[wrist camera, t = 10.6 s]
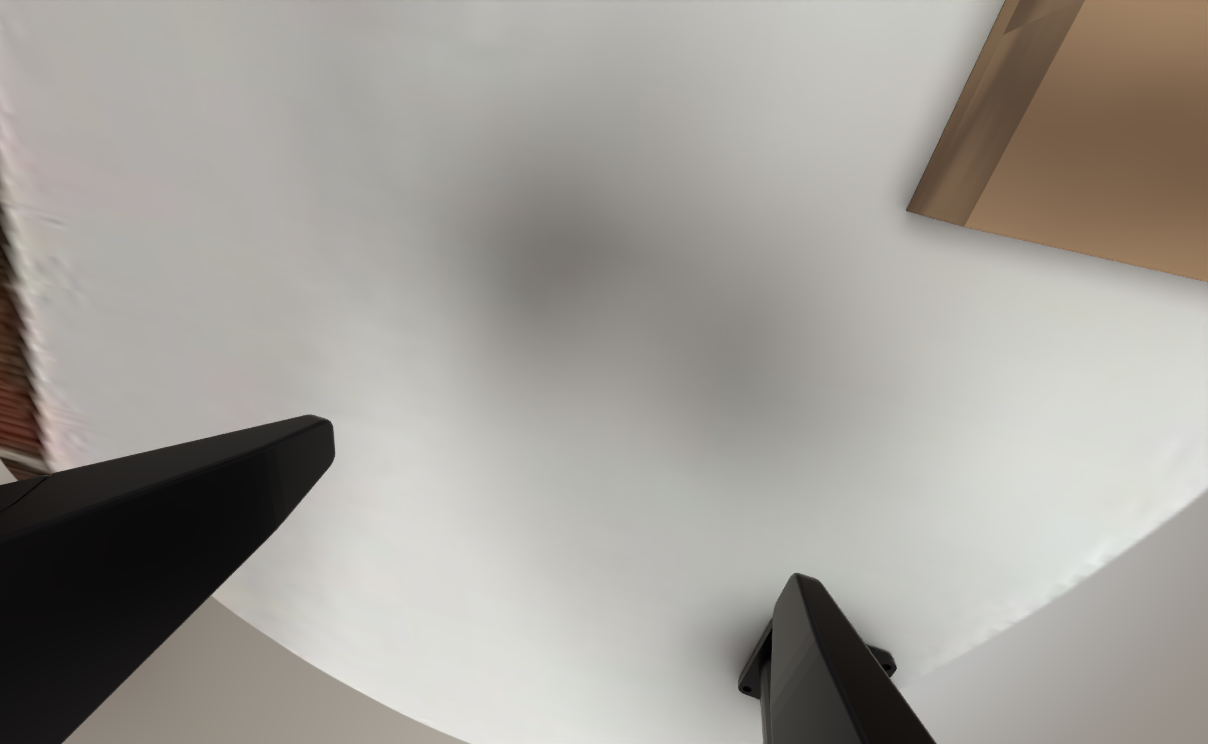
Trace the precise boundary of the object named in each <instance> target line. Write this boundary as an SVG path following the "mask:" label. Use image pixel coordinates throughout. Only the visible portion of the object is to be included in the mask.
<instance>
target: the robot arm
mask: <svg viewBox="0 0 1208 744" xmlns="http://www.w3.org/2000/svg"><path fill="white" fill-rule="evenodd" d="M334 458H335V443H334V431H333V425H332V423H331V421H329V420H328V419H325V418H322V417H319V416H315V415H304V416H300V417H295V418H291V419H287V420H282V421H278V422H274V423H269V424H265V425H261V426H256V427H252V428H248V429H243V430H239V431H234V432H230V433H226V434H221V435H217V436H213V437H208V438H204V439H200V440H195V441H191V442H187V443H182V444H178V445H174V446H169V447H165V448H160V449H156V450H152V451H147V452H143V453H139V454H134V455H130V456H126V457H121V458H117V459H113V460H108V461H104V462H100V463H95V464H91V465H87V466H82V467H78V468H73V469H69V470H65V471H60V472H56V473H53V474H51V475H50V476H48V475H42V476H38V477H34V478H29V479H25V480H21V481H17V482H12V483H8V484H3V485H0V744H62V743H63V742H64V741H65V740H66V739H67V738H68V737H69V736H70V735H71V734H72V733H73V732H74V731H75V730H76V729H77V728H78V727H79V726H80V725H81V724H82V723H83V722H84V721H85V720H86V719H87V718H88V717H89V716H90V715H91V714H92V713H93V712H94V711H95V710H96V709H97V708H98V707H99V706H100V705H101V704H102V703H103V702H104V701H105V700H106V699H107V698H108V697H109V696H110V695H111V694H112V693H113V692H114V691H115V690H116V689H117V688H118V687H119V686H120V685H121V684H122V683H123V682H124V681H125V680H126V679H127V678H128V677H129V676H130V675H131V674H132V673H133V672H134V671H135V670H136V669H137V668H138V667H139V666H140V665H141V664H142V663H143V662H144V661H145V660H146V659H147V658H148V657H149V656H150V655H151V654H152V653H153V652H154V651H155V650H156V649H157V648H158V647H159V646H160V645H162V644H163V642H165V641H166V639H168V638H169V637H170V635H172V634H173V633H174V632H175V630H177V628H179V627H180V626H181V625H182V624H183V623H184V622H185V620H187V619H188V618H189V617H190V616H191V614H193V612H195V611H196V610H197V609H198V608H199V607H200V606H201V605H202V604H203V603H204V602H205V601H206V600H207V599H208V598H209V597H210V596H211V595H212V594H213V593H214V592H215V591H216V590H217V589H218V588H219V587H220V586H221V585H222V584H223V583H224V582H225V581H226V580H227V579H228V578H229V577H230V576H231V575H232V574H233V573H234V572H235V571H236V570H237V569H238V568H239V567H240V566H241V565H242V564H243V563H244V562H245V561H246V560H247V559H248V558H249V557H250V556H251V555H252V554H253V553H254V552H255V551H256V550H257V549H258V548H259V547H260V546H261V545H262V544H263V543H264V542H265V541H266V540H267V539H268V538H269V537H270V536H271V535H272V534H273V533H274V532H275V531H276V530H277V529H278V527H279V526H280V525H281V524H282V523H283V522H284V521H285V520H286V518H287V517H288V516H289V515H290V514H291V512H292V511H293V510H294V509H295V508H296V507H297V505H298V504H299V503H300V502H301V501H302V499H303V498H304V497H305V496H306V495H307V493H308V492H309V491H310V490H311V489H312V487H313V486H314V485H315V484H316V483H317V481H318V480H319V479H320V478H321V477H322V475H323V474H324V473H325V472H326V471H327V469H328V468H329V467H330V466H331V464H332V462H333V460H334ZM896 669H897V667H896V664H895V661H894V658H893V657H892V656H890V655H888V654H885V653H882V652H879V651H876V650H874V649H871V648H868V647H867V646H866V644H865V643H864V642H863V640H862V639H861V637H860V636H859V635H858V633H857V632H856V630H855V629H854V628H853V626H852V625H851V623H850V622H849V621H848V619H847V618H846V616H845V615H844V614H843V612H842V611H841V609H840V608H839V607H838V605H837V604H836V602H835V601H834V600H833V598H832V597H831V595H830V594H829V593H828V591H827V590H826V588H825V587H824V586H823V584H822V583H821V582H820V581H819V580H817V579H815V578H812V577H809V576H806V575H803V574H800V573H794V574H793V575H792V576H791V577H790V578H789V580H788V582H787V584H786V586H785V587H784V589H783V591H782V593H781V595H780V596H779V598H778V600H777V602H776V604H775V608H774V613H773V620H772V621H771V623H770V624H769V626H768V628H767V630H766V632H765V633H764V635H763V637H762V639H761V640H760V642H759V644H758V646H757V648H756V649H755V651H754V653H753V655H752V656H751V658H750V660H749V662H748V664H747V665H746V667H745V669H744V671H743V672H742V674H741V676H740V678H739V680H738V689H739V691H740V692H742V693H743V694H746V695H749V696H751V697H754V698H757V699H760V701H761V716H762V732H763V744H936V742H935V741H934V739H933V738H932V737H931V735H930V734H929V732H928V731H927V729H926V728H925V727H924V725H923V724H922V723H921V721H920V720H919V718H918V717H917V716H916V714H915V713H914V711H913V710H912V709H911V707H910V706H909V704H908V703H907V702H906V700H905V699H904V697H903V696H902V695H901V693H900V692H899V690H898V689H897V688H896V686H895V685H894V683H893V682H892V681H891V679H890V677H891V676H892V675H893V674H894V672H895V671H896Z"/></svg>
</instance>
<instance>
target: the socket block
mask: <svg viewBox="0 0 1208 744" xmlns="http://www.w3.org/2000/svg"><path fill="white" fill-rule="evenodd" d="M906 211H909V212H913V213H916V214H920V215H923V216H927V217H931V218H934V219H938V220H941V221H945V222H949V223H952V224H956V225H959V226H963V227H967V228H971V229H976V230H980V231H985V232H989V233H994V234H998V235H1002V236H1007V237H1011V238H1016V239H1020V240H1024V241H1029V242H1033V243H1038V244H1042V245H1047V246H1051V247H1055V248H1060V249H1064V250H1069V251H1073V252H1078V253H1082V254H1086V255H1091V256H1095V257H1100V258H1104V259H1108V260H1113V261H1117V262H1122V263H1126V264H1131V265H1135V266H1139V267H1144V268H1148V269H1153V270H1157V271H1161V272H1166V273H1170V274H1175V275H1179V276H1184V277H1188V278H1192V279H1197V280H1201V281H1206V282H1208V0H1006V1H1005V3H1004V5H1003V7H1002V9H1001V11H1000V13H999V15H998V18H997V20H996V22H995V24H994V26H993V28H992V30H991V32H990V35H989V37H988V39H987V41H986V43H985V45H984V47H983V49H982V51H981V54H980V56H979V58H978V60H977V62H976V64H975V66H974V68H973V71H972V73H971V75H970V77H969V79H968V81H967V83H966V85H965V87H964V90H963V92H962V94H961V96H960V98H959V100H958V102H957V104H956V107H955V109H954V111H953V113H952V115H951V117H950V119H949V121H948V123H947V126H946V128H945V130H944V132H943V134H942V136H941V138H940V140H939V143H938V145H937V147H936V149H935V151H934V153H933V155H932V157H931V159H930V162H929V164H928V166H927V168H926V170H925V172H924V174H923V176H922V179H921V181H920V183H919V185H918V187H917V189H916V191H915V193H914V195H913V198H912V200H911V202H910V204H909V206H908V208H907V210H906Z"/></svg>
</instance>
